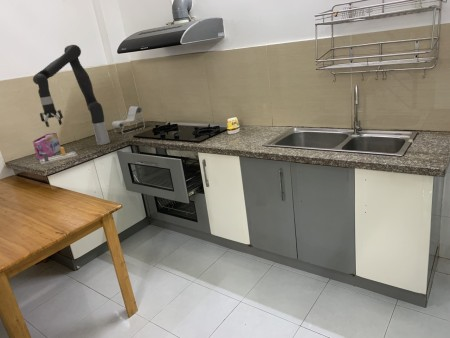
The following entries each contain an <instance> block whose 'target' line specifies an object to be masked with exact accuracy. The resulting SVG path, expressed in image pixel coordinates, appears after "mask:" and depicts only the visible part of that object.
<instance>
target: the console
mask: <svg viewBox="0 0 450 338" xmlns="http://www.w3.org/2000/svg"><path fill="white" fill-rule="evenodd" d="M65 154H66V155H62V154H61V153H60V154H58V155H57V154H56V155H52V156H50V157H48V160H49V161H45V160H44V159H39V162H40V164H41V165H45V164H50V163H54V162H58V161H61V160H67V159H71V158H74V157H78V153H77V152H76V151H74V150H73V151H70V152H67V153H66V152H65Z"/></svg>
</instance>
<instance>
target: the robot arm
mask: <svg viewBox="0 0 450 338" xmlns="http://www.w3.org/2000/svg"><path fill="white" fill-rule="evenodd" d="M81 54H82V50H81V48H80V46H78V45H77V44H69V45H67V46H65V48H64V53H63V54H62V55H61V56H60V57H57V58H56V59H55V60H53V61H52V62H51V63H49V64H48V65H47V66H45V67H44V68H43V69H41V70H40V71H39V72H37V73H35V75H33V77H32V82H33V83H34V84H35V85H38V89H37V90H38V95H39V98H40V104H41V106H42V110H43V112H40V113H39V116H40V121H41V122H43V123H44V124H45V126H46V127H47V128H50V124H49V121H48V120H49V119H51V118H55V119H57V120H58V124H59V126H62V124H63V122H62V119H64V115H63V113H62V111H61V109H59V110H57V109H56V106H55V104H54V100H53V98H52V95H51V92H50V87H49V85H50V84H49V81H48V80H49V78H52V77H54V76H55V75H56V74H58V73H59V72H60V71H61V70H62V69H63V68H64V67H66V66H67V65H68V64H69V65H70V67H71V70H72V71H73V75H74V76H75V79H76V83H77V85H78V87H79V89H80V91H81V94H83V97H84V100H85V102H86V107H87V110H88V111H89V112H90V116H91V124H92V128H93V132H94V135H95V140H96V144H97V146H102V145H106V144H110V143H111V140H110V137H109V133H108V131H107V126H106V121H105V114H104V108H103V106H102V104H101V103H99V102H98V100H97V98H96V96H95V93H94V88H93V84H92V81H91V79H90V75H89V74H88V71H86V69H85V68H84V66H82V64H81V62H80V59H79V57H80V56H81ZM44 116H45V117H44Z"/></svg>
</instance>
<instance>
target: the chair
mask: <svg viewBox="0 0 450 338" xmlns="http://www.w3.org/2000/svg"><path fill="white" fill-rule="evenodd" d="M142 112H143V108H142V107H141V106H133V105H131V106H130V107H129V109H128V112H126V115H125V113H122V114H120V116H123V115H124V116H123V120H118V116H119V114H118V115H116V116H115V119H116V120H114V121H112V122H111V125H112V127H114V132H115V133H120V132H121V134H123V135H125V134H128V133H132V132H135V130H136V131H139V130H138V129H139V128H137V127H138V121H141V122H143V127H141V128H140V130H143V129H145V127H146V125H145V121H144V120H145V119H144V115H143V113H142ZM137 115H141V116H142V118H138V117H137ZM125 117H127V118H126V119H125ZM134 121H135V122H136V123H135V124H136V126H132V127H130V128H129V127H128V128H126V129H124V128H125V126H126V123H130V122H134ZM123 123H124V124H123ZM134 127H135V128H137V129H134V130H131V129H133V128H134ZM116 128H120V129H121V128H122V129H121V130H119V131H117V130H116ZM142 128H143V129H142ZM126 130H131V131H127V132H124V131H126Z"/></svg>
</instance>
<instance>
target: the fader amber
mask: <svg viewBox="0 0 450 338" xmlns="http://www.w3.org/2000/svg"><path fill="white" fill-rule="evenodd" d="M65 153H66V151H65V148H64V146H60V155H61V154H62V155H66V154H65Z"/></svg>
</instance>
